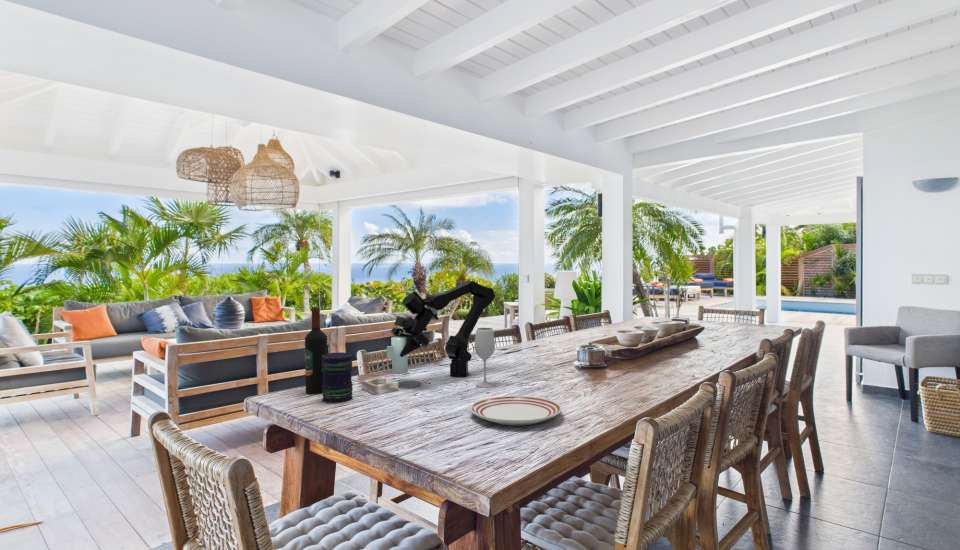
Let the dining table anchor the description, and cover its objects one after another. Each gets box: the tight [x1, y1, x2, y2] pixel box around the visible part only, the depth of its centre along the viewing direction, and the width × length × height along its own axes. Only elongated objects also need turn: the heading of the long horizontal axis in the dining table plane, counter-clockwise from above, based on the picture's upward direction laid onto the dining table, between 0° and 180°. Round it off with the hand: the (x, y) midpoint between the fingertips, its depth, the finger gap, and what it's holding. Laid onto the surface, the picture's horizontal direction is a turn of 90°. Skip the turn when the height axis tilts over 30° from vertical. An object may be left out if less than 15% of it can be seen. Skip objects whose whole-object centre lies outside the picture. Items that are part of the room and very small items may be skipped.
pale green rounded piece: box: [386, 336, 409, 375], centre depth 188 cm, size 8×6×13 cm
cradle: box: [361, 377, 399, 395], centre depth 184 cm, size 9×10×3 cm
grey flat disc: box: [397, 379, 422, 389], centre depth 191 cm, size 11×11×1 cm
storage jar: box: [322, 352, 354, 404], centre depth 172 cm, size 10×10×15 cm
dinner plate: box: [469, 395, 563, 426], centre depth 153 cm, size 27×27×3 cm
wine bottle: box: [304, 306, 328, 395], centre depth 182 cm, size 8×8×30 cm
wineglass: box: [474, 327, 496, 388], centre depth 190 cm, size 8×8×21 cm
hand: (396, 355), depth 188 cm, fingers closed on pale green rounded piece, 6 cm apart
